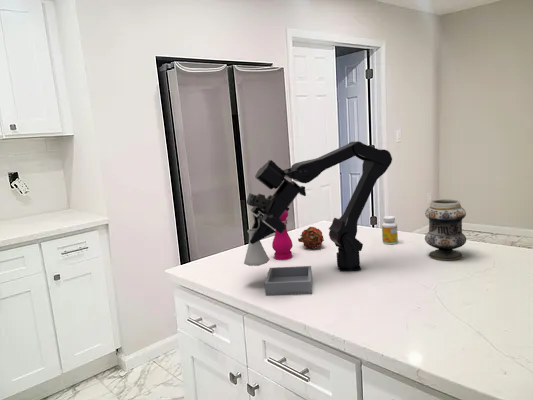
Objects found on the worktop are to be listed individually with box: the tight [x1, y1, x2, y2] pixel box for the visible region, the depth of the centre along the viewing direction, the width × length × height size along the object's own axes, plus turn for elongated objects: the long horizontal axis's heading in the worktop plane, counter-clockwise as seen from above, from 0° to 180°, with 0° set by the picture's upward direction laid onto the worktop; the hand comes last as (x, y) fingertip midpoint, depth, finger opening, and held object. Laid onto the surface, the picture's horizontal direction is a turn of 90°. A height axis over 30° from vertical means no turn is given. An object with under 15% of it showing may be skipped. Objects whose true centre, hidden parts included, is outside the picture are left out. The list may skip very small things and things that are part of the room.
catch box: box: [264, 265, 313, 296], centre depth 114 cm, size 13×13×4 cm
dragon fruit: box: [297, 226, 325, 249], centre depth 150 cm, size 8×8×12 cm
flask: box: [243, 228, 270, 267], centre depth 115 cm, size 7×7×10 cm
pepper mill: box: [271, 210, 293, 261], centre depth 139 cm, size 7×7×20 cm
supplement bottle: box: [381, 215, 399, 246], centre depth 146 cm, size 5×5×10 cm
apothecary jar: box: [424, 198, 467, 261], centre depth 126 cm, size 12×12×18 cm
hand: (249, 241), depth 115 cm, fingers closed on flask, 3 cm apart
